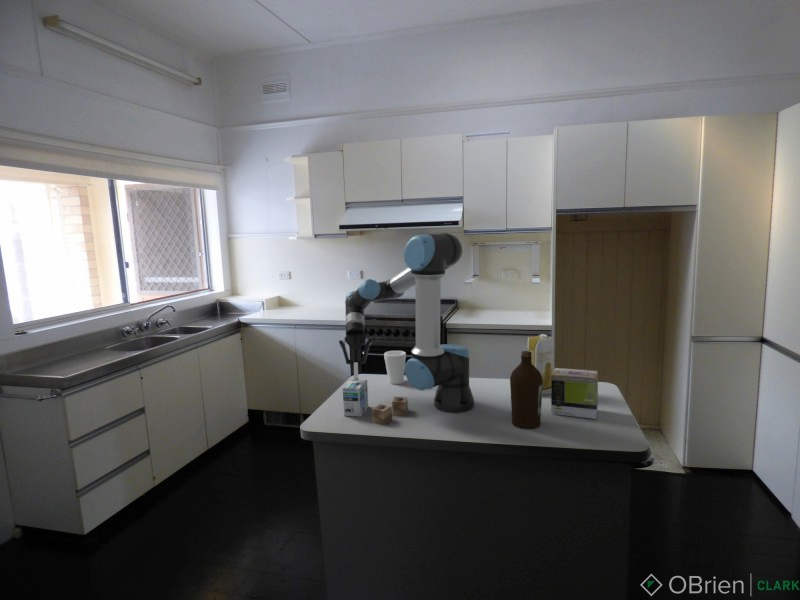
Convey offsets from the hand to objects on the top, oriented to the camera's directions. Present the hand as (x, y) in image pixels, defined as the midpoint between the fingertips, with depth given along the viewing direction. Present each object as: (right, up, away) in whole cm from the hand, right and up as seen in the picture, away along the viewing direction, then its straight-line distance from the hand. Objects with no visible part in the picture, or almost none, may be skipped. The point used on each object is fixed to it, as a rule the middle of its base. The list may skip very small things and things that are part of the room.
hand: (356, 379), depth 179 cm
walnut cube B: (+10, -13, -9) cm, 19 cm away
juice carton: (+72, -8, +13) cm, 74 cm away
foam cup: (+15, -7, +33) cm, 37 cm away
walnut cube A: (+16, -12, -1) cm, 20 cm away
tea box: (+78, -11, -7) cm, 80 cm away
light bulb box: (0, -12, +1) cm, 12 cm away
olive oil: (+59, -13, -16) cm, 62 cm away
